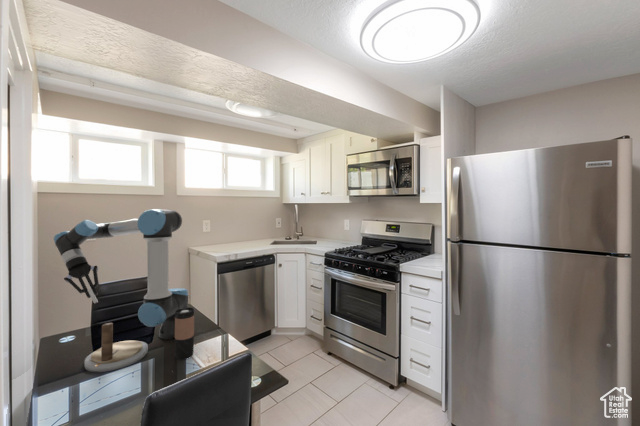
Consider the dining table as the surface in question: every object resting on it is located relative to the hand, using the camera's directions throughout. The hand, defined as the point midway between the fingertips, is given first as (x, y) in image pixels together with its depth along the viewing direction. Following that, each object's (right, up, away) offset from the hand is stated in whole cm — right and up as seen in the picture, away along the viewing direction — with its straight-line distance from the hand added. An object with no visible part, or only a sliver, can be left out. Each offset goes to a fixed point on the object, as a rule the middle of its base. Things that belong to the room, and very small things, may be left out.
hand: (95, 301), depth 126 cm
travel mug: (+44, -22, -6) cm, 50 cm away
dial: (+16, -19, -8) cm, 26 cm away
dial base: (+16, -22, -8) cm, 28 cm away
